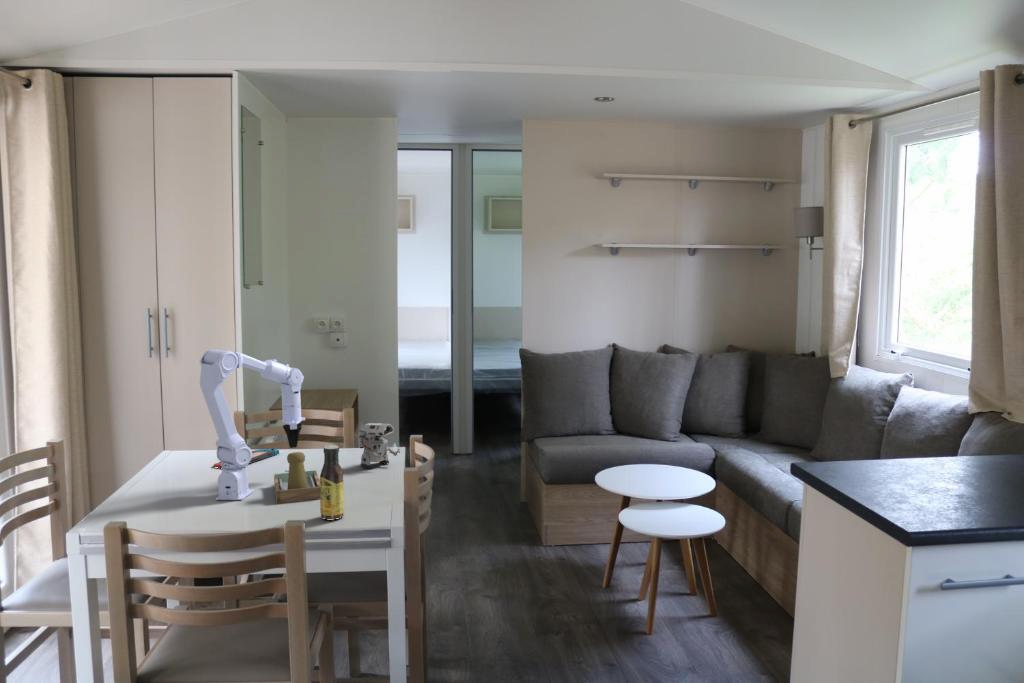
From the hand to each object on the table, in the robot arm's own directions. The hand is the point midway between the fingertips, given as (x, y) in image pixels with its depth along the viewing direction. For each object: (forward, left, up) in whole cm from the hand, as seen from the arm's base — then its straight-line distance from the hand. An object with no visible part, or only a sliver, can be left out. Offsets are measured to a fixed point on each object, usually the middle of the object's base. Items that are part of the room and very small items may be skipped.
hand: (293, 447), depth 251 cm
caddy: (-15, -6, -10) cm, 19 cm away
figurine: (+15, -24, -11) cm, 30 cm away
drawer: (-12, -5, -10) cm, 16 cm away
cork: (-19, -7, -8) cm, 22 cm away
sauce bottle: (-37, -23, -11) cm, 45 cm away
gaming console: (+23, +24, -11) cm, 35 cm away
